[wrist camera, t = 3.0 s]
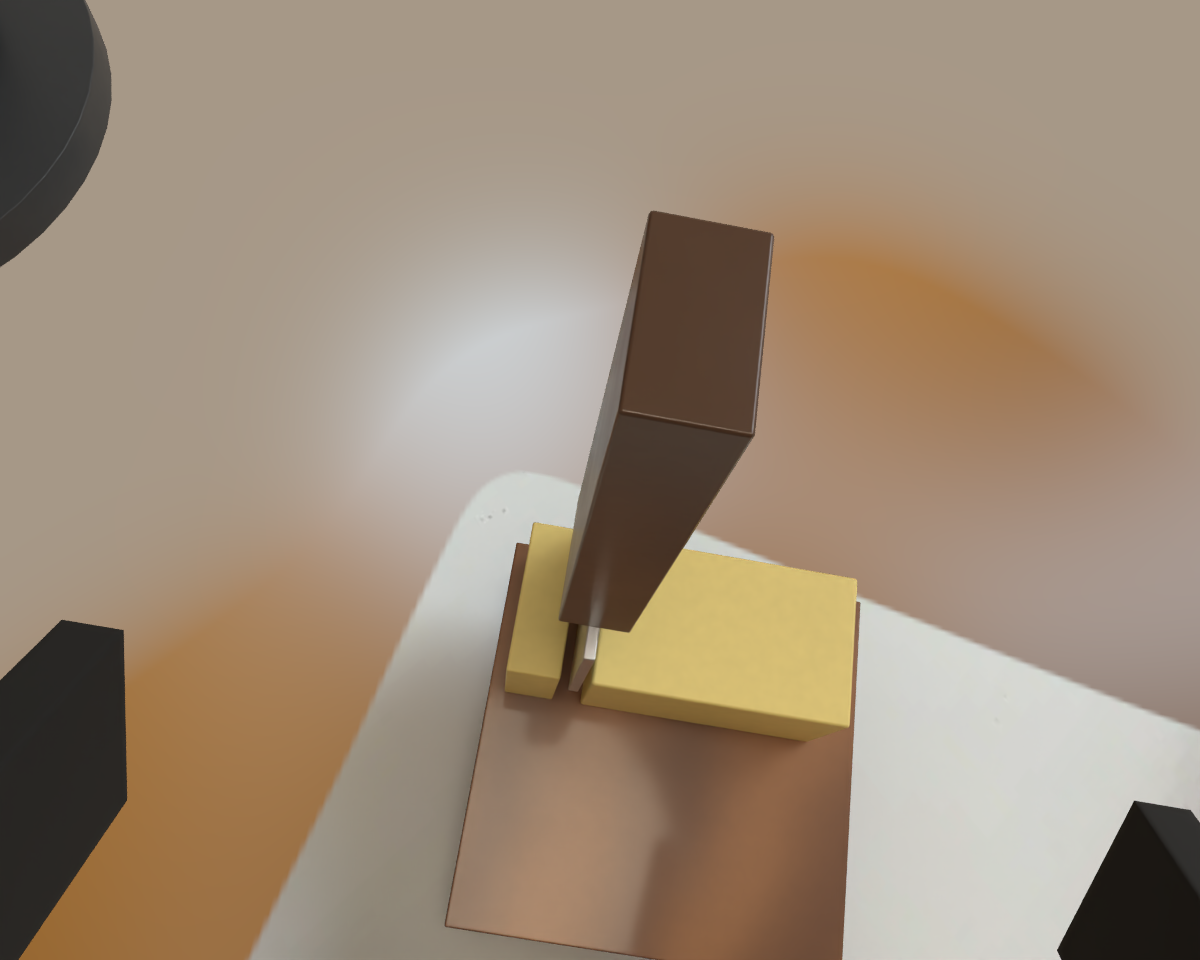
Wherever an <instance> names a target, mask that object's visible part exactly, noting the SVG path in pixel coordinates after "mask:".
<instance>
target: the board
mask: <svg viewBox="0 0 1200 960" xmlns="http://www.w3.org/2000/svg"><path fill="white" fill-rule="evenodd" d="M528 549H529V545H528V544H522V543H517V544H516V549H515V554H514V560H513V565H512V570H511V576H510V581H509V586H508V592H507V597H506V602H505V607H504V613H503V618H502V623H501V629H500V634H499V639H498V644H497V650H496V655H495V660H494V666H493V671H492V676H491V681H490V687H489V692H488V697H487V703H486V708H485V713H484V719H483V724H482V729H481V734H480V740H479V745H478V750H477V756H476V761H475V766H474V771H473V777H472V782H471V787H470V793H469V798H468V803H467V809H466V814H465V819H464V824H463V830H462V835H461V840H460V846H459V851H458V856H457V861H456V867H455V872H454V877H453V883H452V888H451V893H450V898H449V904H448V909H447V914H446V920H445V927H449V928H456V929H462V930H469V931H475V932H482V933H488V934H494V935H501V936H507V937H514V938H520V939H526V940H533V941H539V942H546V943H552V944H558V945H565V946H571V947H578V948H584V949H590V950H597V951H603V952H610V953H616V954H623V955H629V956H635V957H642V958H648V959H655V960H842V953H843V933H844V914H845V894H846V874H847V855H848V835H849V815H850V796H851V776H852V756H853V737H854V717H855V697H856V678H857V658H858V638H859V619H860V602H856V614H855V633H854V652H853V671H852V690H851V709H850V726H849V728H846V729H843V730H840V731H837V732H834V733H831V734H828V735H825V736H822V737H819V738H817V739H814V740H811V741H808V742H805V741H799V740H793V739H787V738H781V737H775V736H769V735H763V734H757V733H751V732H745V731H739V730H733V729H727V728H721V727H715V726H709V725H703V724H697V723H691V722H685V721H679V720H673V719H667V718H661V717H655V716H649V715H643V714H637V713H631V712H625V711H619V710H613V709H607V708H601V707H595V706H589V705H583V704H581V701H580V700H581V694H582V687H583V683H582V685H581V687H580V689H579V691H578V692H576V691H570V690H568V687H569V681H570V675H571V669H572V662H573V656H574V650H575V643H576V637H577V631H578V625H579V624H574V623H569V628H568V634H567V640H566V646H565V652H564V659H563V665H562V671H561V677H560V680H559V683H558V685H557V688H556V690H555V693H554V695H553V698H552V699H546V698H540V697H534V696H528V695H522V694H516V693H510V692H506V691H505V680H506V668H507V663H508V657H509V652H510V647H511V641H512V636H513V630H514V625H515V619H516V614H517V608H518V603H519V598H520V592H521V587H522V581H523V576H524V570H525V565H526V559H527V554H528Z"/></svg>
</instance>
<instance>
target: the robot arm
mask: <svg viewBox="0 0 1200 960" xmlns="http://www.w3.org/2000/svg"><path fill="white" fill-rule="evenodd" d="M125 725H126V724H125V676H124V631H123V630H119V629H113V628H107V627H102V626H95V625H90V624H83V623H78V622H72V621H65V620H61V621H60V622H59V623H58V624H57V625H56V626H55V627H54V628H53V629H52V630H51V631H50V632H49V633H48V634H47V635H46V636H45V637H44V638H43V639H42V640H41V641H40V642H39V643H38V644H37V645H36V646H35V647H34V648H33V649H32V650H31V651H30V652H29V653H28V654H27V655H26V656H25V657H24V658H22V659H21V661H19V662H18V663H17V665H15V666H14V667H13V669H12V670H11V671H9V672H8V673H7V674H6V675H5V676H4V677H3V678H2V679H1V680H0V960H19V958H20V957H21V955H22V954H23V952H24V951H25V949H26V948H27V946H28V945H29V943H30V942H31V940H32V939H33V938H34V936H35V935H36V933H37V932H38V930H39V929H40V927H41V926H42V924H43V922H44V921H45V920H46V918H47V917H48V915H49V914H50V913H51V911H52V910H53V908H54V907H55V905H56V904H57V902H58V901H59V899H60V898H61V896H62V895H63V893H64V892H65V890H66V889H67V888H68V886H69V885H70V883H71V882H72V880H73V879H74V877H75V876H76V874H77V873H78V871H79V870H80V868H81V867H82V865H83V864H84V863H85V861H86V860H87V858H88V857H89V855H90V854H91V852H92V851H93V849H94V848H95V846H96V845H97V843H98V842H99V840H100V839H101V838H102V836H103V835H104V833H105V832H106V830H107V829H108V827H109V826H110V824H111V823H112V821H113V820H114V818H115V817H116V816H117V814H118V813H119V811H120V810H121V808H122V807H123V805H124V804H125V802H126V801H127V776H126V775H127V773H126V726H125ZM1057 951H1058V953H1059V955H1060V958H1061V960H1200V822H1199V821H1198V820H1197V818H1196V817H1195V816H1194V814H1193V813H1192V812H1191V810H1186V809H1180V808H1174V807H1168V806H1162V805H1156V804H1151V803H1145V802H1139V801H1134V802H1133V804H1132V806H1131V808H1130V810H1129V812H1128V814H1127V816H1126V818H1125V820H1124V822H1123V824H1122V826H1121V827H1120V829H1119V831H1118V833H1117V835H1116V837H1115V839H1114V841H1113V843H1112V845H1111V847H1110V849H1109V851H1108V853H1107V855H1106V856H1105V858H1104V860H1103V862H1102V864H1101V866H1100V868H1099V870H1098V872H1097V874H1096V876H1095V878H1094V880H1093V882H1092V884H1091V885H1090V887H1089V889H1088V891H1087V893H1086V895H1085V897H1084V899H1083V901H1082V903H1081V905H1080V907H1079V909H1078V911H1077V913H1076V914H1075V916H1074V918H1073V920H1072V922H1071V924H1070V926H1069V928H1068V930H1067V932H1066V934H1065V936H1064V938H1063V940H1062V942H1061V943H1060V945H1059V947H1058V949H1057Z"/></svg>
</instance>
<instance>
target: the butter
mask: <svg viewBox="0 0 1200 960" xmlns="http://www.w3.org/2000/svg"><path fill="white" fill-rule="evenodd" d="M572 534H573V529H570V528H564V527H559V526H553V525H547V524H541V523H536V522H535V523H533V527H532V532H531V538H530V543H529V549H528V554H527V559H526V565H525V570H524V576H523V581H522V587H521V592H520V598H519V603H518V608H517V614H516V619H515V625H514V630H513V636H512V641H511V647H510V652H509V657H508V663H507V668H506V680H505V691H506V692H510V693H516V694H522V695H528V696H534V697H540V698H546V699H552V698H553V695H554V693H555V690H556V688H557V685H558V683H559V680H560V677H561V671H562V665H563V659H564V652H565V646H566V640H567V634H568V628H569V623H568V622H562V621H559V619H558V617H559V611H560V605H561V599H562V594H563V588H564V582H565V576H566V570H567V564H568V558H569V552H570V546H571V540H572ZM856 595H857V580H856V579H854V578H848V577H843V576H836V575H831V574H825V573H820V572H814V571H808V570H802V569H797V568H791V567H785V566H780V565H774V564H768V563H762V562H757V561H751V560H745V559H740V558H734V557H728V556H722V555H717V554H711V553H705V552H699V551H694V550H688V549H682V551H681V552H680V554H679V556H678V557H677V559H676V560H675V562H674V563H673V565H672V567H671V568H670V570H669V571H668V573H667V574H666V576H665V578H664V579H663V581H662V582H661V584H660V586H659V587H658V589H657V590H656V592H655V593H654V595H653V597H652V598H651V600H650V601H649V603H648V604H647V606H646V608H645V609H644V611H643V612H642V614H641V616H640V617H639V619H638V620H637V622H636V623H635V625H634V627H633V628H632V630H631V631H630V632H629V633H627V632H621V631H615V630H609V629H603V628H600V632H599V638H598V645H597V652H596V658H595V661H594V663H593V665H592V667H591V668H590V670H589V672H588V674H587V676H586V678H585V680H584V681H583V687H582V694H581V700H580V701H581V704H583V705H589V706H595V707H601V708H607V709H613V710H619V711H625V712H631V713H637V714H643V715H649V716H655V717H661V718H667V719H673V720H679V721H685V722H691V723H697V724H703V725H709V726H715V727H721V728H727V729H733V730H739V731H745V732H751V733H757V734H763V735H769V736H775V737H781V738H787V739H793V740H799V741H805V742H808V741H811V740H814V739H817V738H819V737H822V736H825V735H828V734H831V733H834V732H837V731H840V730H843V729H846V728H849V726H850V709H851V690H852V671H853V652H854V633H855V614H856Z"/></svg>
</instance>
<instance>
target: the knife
mask: <svg viewBox="0 0 1200 960" xmlns="http://www.w3.org/2000/svg"><path fill="white" fill-rule="evenodd" d="M773 244H774V236H773V234H772V233H768V232H763V231H758V230H752V229H748V228H742V227H737V226H732V225H727V224H721V223H716V222H711V221H705V220H700V219H695V218H689V217H684V216H679V215H674V214H669V213H663V212H657V211H651V212H650V213H649V215H648V219H647V223H646V227H645V231H644V235H643V240H642V244H641V247H640V252H639V255H638V259H637V264H636V268H635V272H634V276H633V280H632V284H631V288H630V292H629V296H628V300H627V304H626V308H625V313H624V316H623V320H622V324H621V328H620V333H619V337H618V341H617V345H616V349H615V353H614V357H613V361H612V365H611V369H610V373H609V378H608V382H607V385H606V390H605V393H604V398H603V402H602V406H601V410H600V414H599V418H598V422H597V426H596V430H595V434H594V438H593V443H592V446H591V450H590V454H589V458H588V462H587V467H586V471H585V475H584V479H583V483H582V487H581V491H580V495H579V499H578V504H577V510H576V516H575V522H574V528H573V534H572V540H571V546H570V552H569V558H568V564H567V570H566V576H565V582H564V588H563V594H562V599H561V605H560V611H559V617H558V619H559V621H562V622H568V623H574V624H579V625H578V631H577V637H576V643H575V650H574V656H573V662H572V669H571V675H570V681H569V687H568V690H570V691H576V692H578V691H579V689H580V687H581V685H582V683H583V681H584V680H585V678H586V676H587V674H588V672H589V670H590V668H591V667H592V665H593V663H594V661H595V658H596V652H597V645H598V638H599V632H600V628H603V629H609V630H615V631H621V632H627V633H629V632H630V631H631V630H632V628H633V627H634V625H635V623H636V622H637V620H638V619H639V617H640V616H641V614H642V612H643V611H644V609H645V608H646V606H647V604H648V603H649V601H650V600H651V598H652V597H653V595H654V593H655V592H656V590H657V589H658V587H659V586H660V584H661V582H662V581H663V579H664V578H665V576H666V574H667V573H668V571H669V570H670V568H671V567H672V565H673V563H674V562H675V560H676V559H677V557H678V556H679V554H680V552H681V551H682V549H683V548H684V546H685V544H686V543H687V541H688V540H689V538H690V537H691V535H692V533H693V532H694V530H695V529H696V527H697V526H698V524H699V522H700V521H701V519H702V517H703V516H704V514H705V513H706V511H707V510H708V508H709V507H710V505H711V503H712V502H713V500H714V499H715V497H716V496H717V494H718V492H719V491H720V489H721V488H722V486H723V484H724V483H725V481H726V480H727V478H728V476H729V475H730V473H731V472H732V470H733V469H734V467H735V466H736V464H737V462H738V461H739V459H740V458H741V456H742V454H743V453H744V451H745V450H746V448H747V447H748V445H749V443H750V442H751V440H752V439H753V437H754V435H755V427H756V416H757V406H758V396H759V386H760V376H761V365H762V355H763V345H764V335H765V324H766V314H767V304H768V294H769V283H770V274H771V264H772V253H773Z"/></svg>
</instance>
